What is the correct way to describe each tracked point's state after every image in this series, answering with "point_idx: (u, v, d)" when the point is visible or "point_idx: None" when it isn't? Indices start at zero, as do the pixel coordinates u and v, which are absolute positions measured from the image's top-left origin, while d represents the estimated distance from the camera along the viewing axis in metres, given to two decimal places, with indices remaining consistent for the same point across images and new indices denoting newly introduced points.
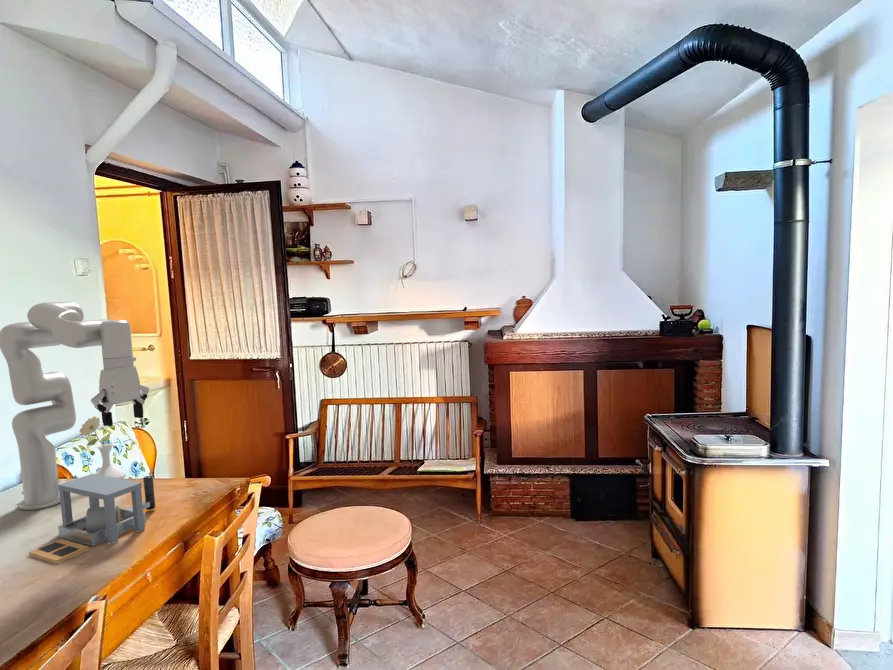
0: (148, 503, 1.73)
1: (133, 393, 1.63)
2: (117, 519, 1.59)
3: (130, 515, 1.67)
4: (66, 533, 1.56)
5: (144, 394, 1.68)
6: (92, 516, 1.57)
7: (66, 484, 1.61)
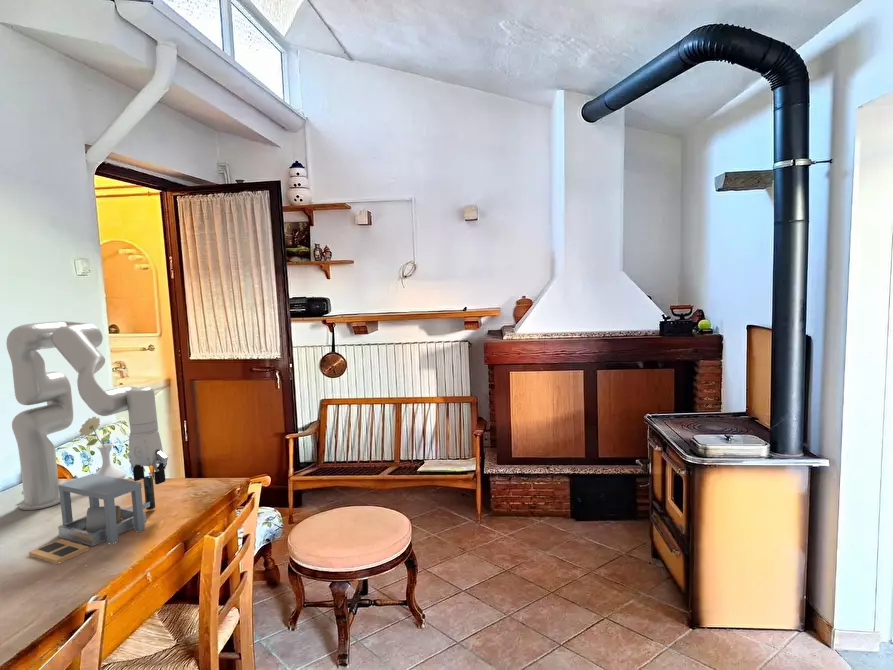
0: (148, 503, 1.73)
1: None
2: (117, 518, 1.60)
3: (130, 515, 1.67)
4: (66, 533, 1.56)
5: None
6: (92, 515, 1.57)
7: (66, 484, 1.61)
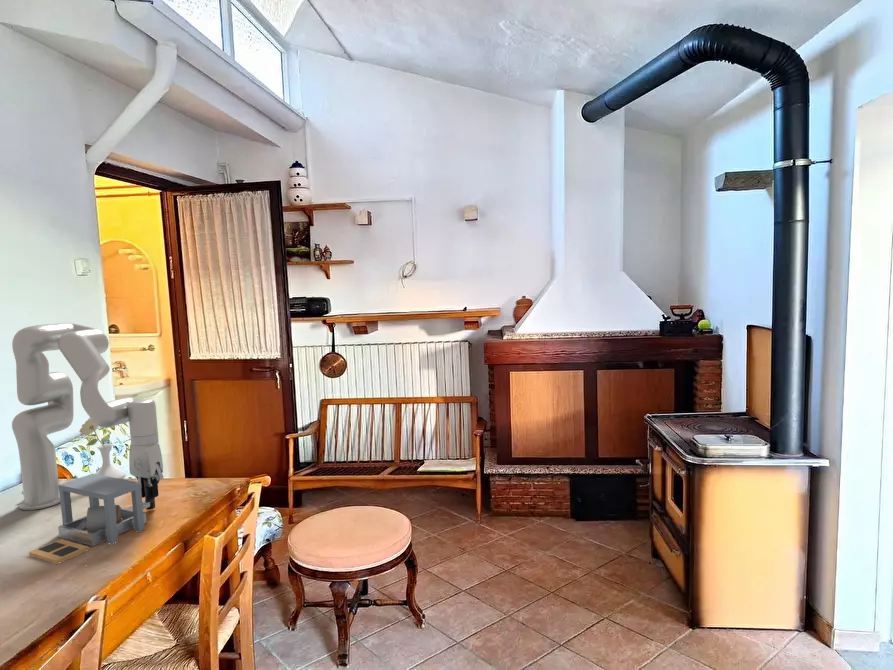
0: (148, 503, 1.73)
1: None
2: (118, 518, 1.60)
3: (130, 515, 1.67)
4: (66, 533, 1.56)
5: None
6: (93, 515, 1.58)
7: (66, 484, 1.61)
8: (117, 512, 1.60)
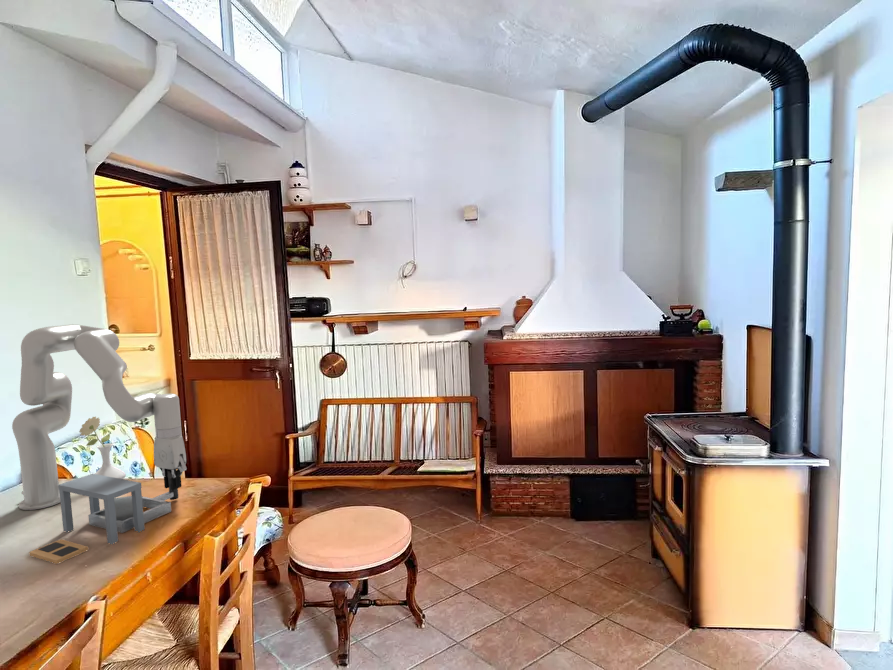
0: (172, 493, 1.81)
1: None
2: None
3: (155, 504, 1.75)
4: (96, 521, 1.64)
5: None
6: (115, 506, 1.64)
7: (66, 484, 1.61)
8: None
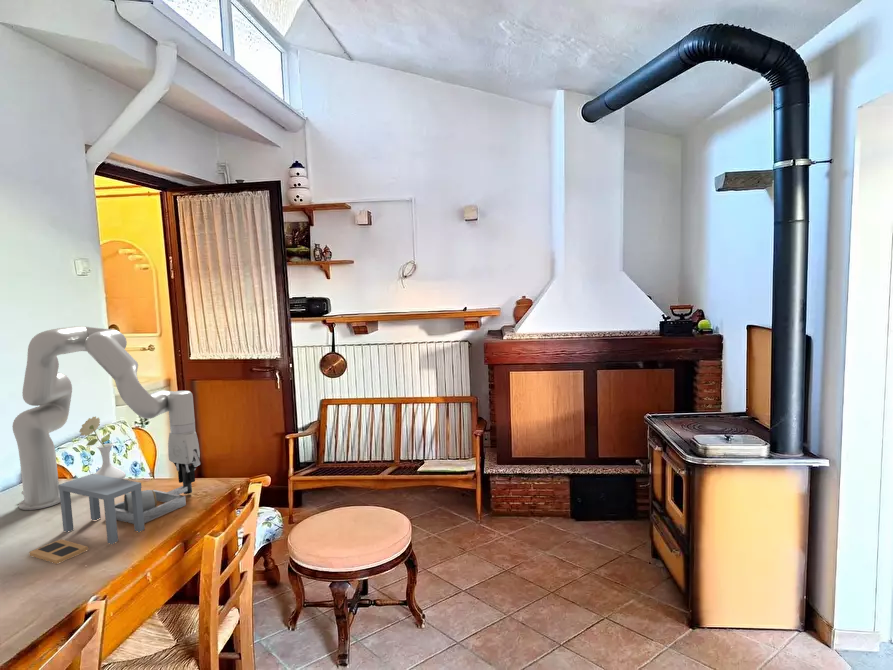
0: (186, 488, 1.86)
1: None
2: (155, 501, 1.72)
3: (170, 498, 1.79)
4: None
5: None
6: None
7: (66, 484, 1.61)
8: (154, 496, 1.72)
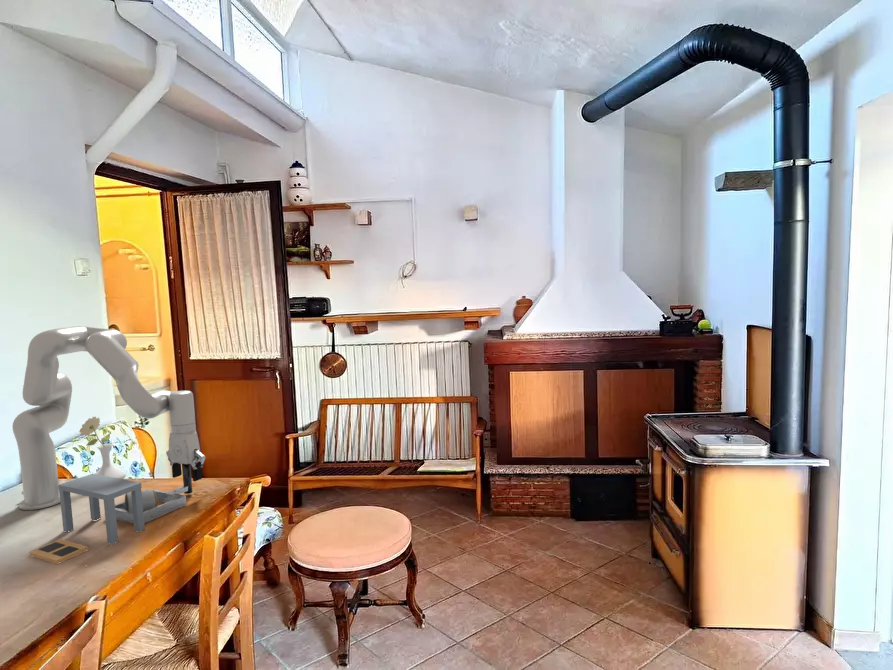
0: (186, 487, 1.86)
1: None
2: (156, 501, 1.72)
3: (171, 498, 1.80)
4: None
5: None
6: None
7: (66, 484, 1.61)
8: (155, 496, 1.72)
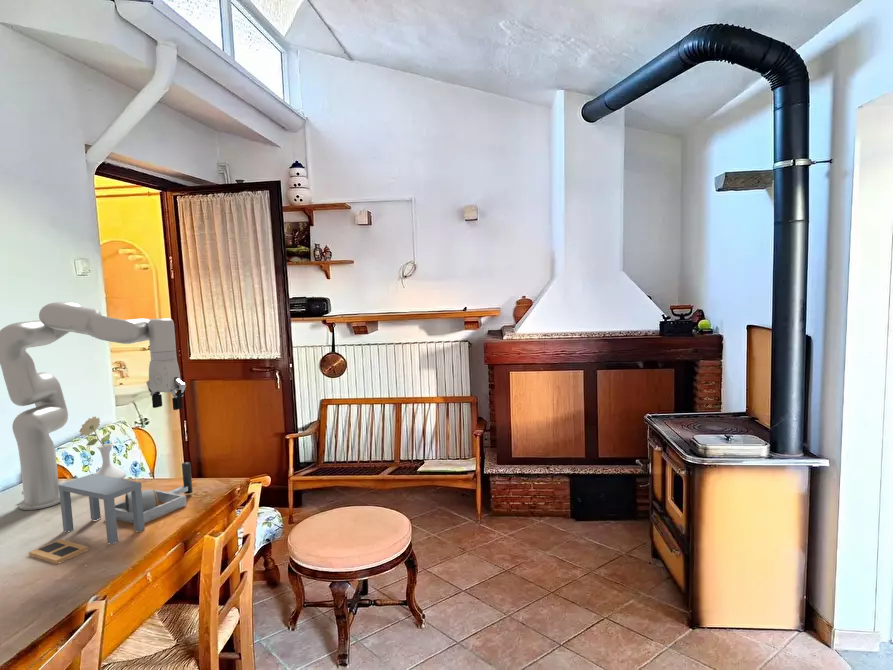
0: (186, 487, 1.86)
1: None
2: (156, 501, 1.72)
3: (171, 498, 1.80)
4: None
5: None
6: None
7: (66, 484, 1.61)
8: (155, 496, 1.72)
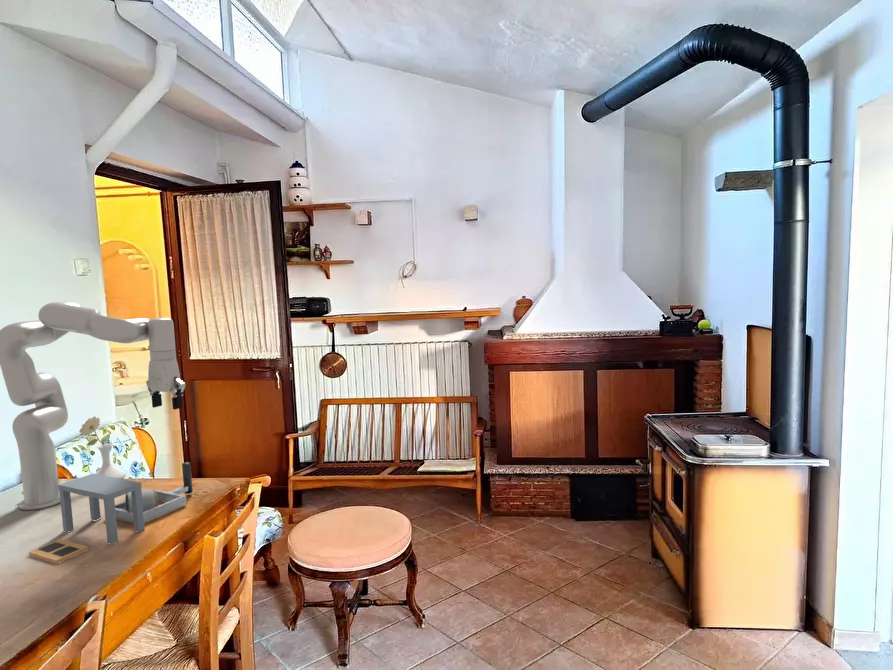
0: (186, 487, 1.86)
1: None
2: (156, 501, 1.72)
3: (171, 498, 1.80)
4: None
5: None
6: None
7: (66, 484, 1.61)
8: (155, 496, 1.72)
